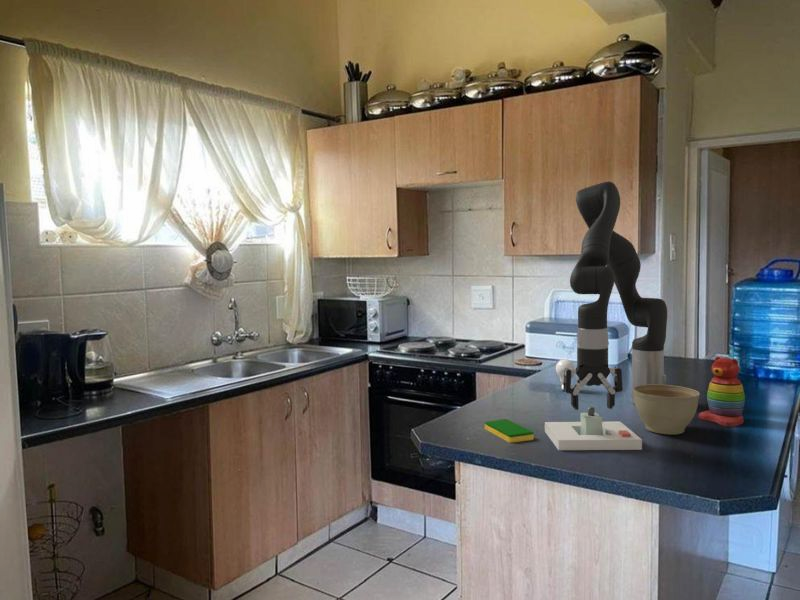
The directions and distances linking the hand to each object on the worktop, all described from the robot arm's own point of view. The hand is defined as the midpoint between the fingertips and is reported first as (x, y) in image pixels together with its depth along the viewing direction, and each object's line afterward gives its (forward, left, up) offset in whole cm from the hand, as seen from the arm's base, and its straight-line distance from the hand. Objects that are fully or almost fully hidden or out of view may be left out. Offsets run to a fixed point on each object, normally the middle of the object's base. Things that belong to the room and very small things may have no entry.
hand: (592, 408), depth 156 cm
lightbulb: (-7, -56, -8) cm, 57 cm away
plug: (0, 0, -8) cm, 8 cm away
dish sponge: (+20, -6, -9) cm, 23 cm away
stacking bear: (-42, -17, -8) cm, 46 cm away
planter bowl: (-22, -8, -8) cm, 24 cm away
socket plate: (0, 0, -8) cm, 8 cm away
